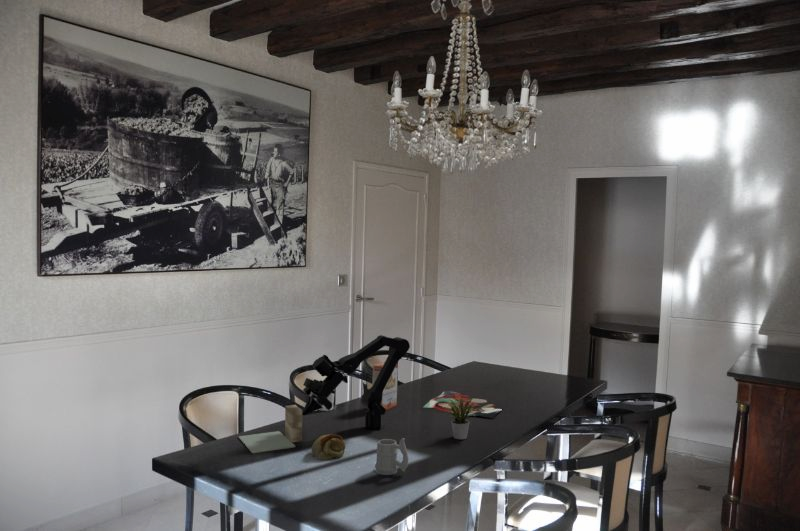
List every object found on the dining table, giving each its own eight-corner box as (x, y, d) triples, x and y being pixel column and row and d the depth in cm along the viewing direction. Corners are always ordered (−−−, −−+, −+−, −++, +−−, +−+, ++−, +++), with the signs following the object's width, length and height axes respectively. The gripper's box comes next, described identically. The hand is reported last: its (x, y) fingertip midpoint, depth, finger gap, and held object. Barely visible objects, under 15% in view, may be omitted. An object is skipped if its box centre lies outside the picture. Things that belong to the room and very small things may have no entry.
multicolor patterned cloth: (418, 410, 283) (418, 406, 283) (444, 394, 315) (444, 391, 315) (492, 420, 269) (492, 416, 269) (511, 402, 301) (511, 398, 301)
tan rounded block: (294, 435, 242) (295, 404, 242) (301, 441, 235) (302, 409, 235) (285, 436, 240) (285, 405, 240) (291, 442, 233) (292, 410, 233)
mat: (279, 432, 246) (279, 431, 246) (295, 447, 228) (295, 445, 228) (238, 437, 238) (238, 436, 238) (252, 453, 220) (252, 452, 220)
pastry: (330, 463, 212) (331, 440, 212) (302, 456, 218) (302, 434, 218) (354, 452, 224) (354, 430, 224) (327, 446, 231) (327, 424, 230)
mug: (381, 465, 210) (382, 430, 210) (413, 472, 205) (413, 436, 205) (370, 472, 204) (371, 436, 203) (402, 479, 198) (403, 442, 198)
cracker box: (382, 412, 277) (383, 366, 276) (371, 411, 280) (371, 364, 279) (397, 406, 289) (398, 361, 289) (386, 404, 292) (387, 360, 291)
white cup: (331, 411, 277) (331, 389, 277) (314, 410, 279) (314, 388, 278) (336, 407, 285) (336, 385, 284) (320, 406, 286) (320, 384, 286)
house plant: (485, 434, 247) (485, 393, 247) (477, 444, 234) (478, 401, 234) (450, 430, 252) (451, 390, 252) (441, 440, 239) (442, 398, 239)
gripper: (308, 366, 250) (281, 396, 245) (325, 375, 233) (296, 407, 228) (326, 384, 254) (299, 413, 249) (344, 394, 237) (316, 426, 232)
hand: (302, 414), depth 239 cm, fingers closed
